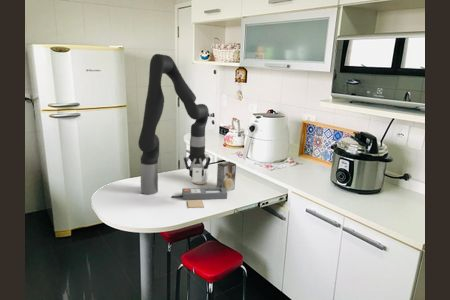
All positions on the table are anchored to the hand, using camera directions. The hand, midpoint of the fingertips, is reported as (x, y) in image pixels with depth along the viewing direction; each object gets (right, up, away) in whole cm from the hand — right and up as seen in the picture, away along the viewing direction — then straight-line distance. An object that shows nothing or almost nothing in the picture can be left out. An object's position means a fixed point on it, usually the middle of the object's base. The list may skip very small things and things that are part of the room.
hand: (196, 176), depth 165 cm
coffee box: (+15, -10, +26) cm, 32 cm away
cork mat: (-1, -15, +4) cm, 16 cm away
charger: (0, -2, 0) cm, 2 cm away
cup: (-1, -7, +35) cm, 35 cm away
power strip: (0, -12, +14) cm, 19 cm away
